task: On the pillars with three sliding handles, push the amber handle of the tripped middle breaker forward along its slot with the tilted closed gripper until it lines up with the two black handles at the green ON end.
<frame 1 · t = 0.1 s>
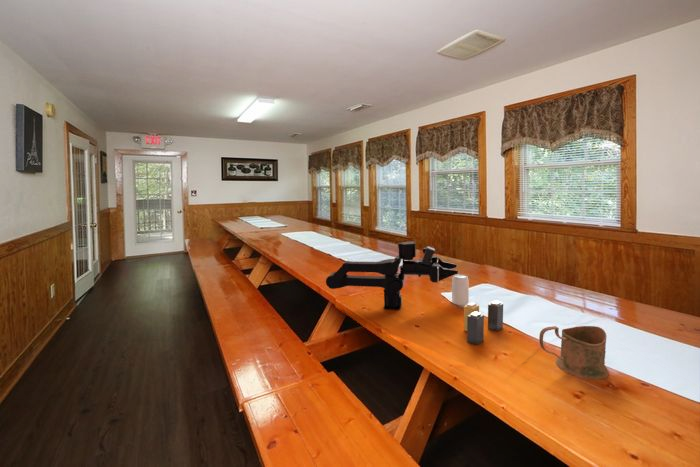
hand: (457, 268, 130), 17 cm above the table, tool horizontal, fingers open, 9 cm apart
tripped handle: (471, 316, 112), point 6 cm above the table, slide at 0.0 cm
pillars: (471, 332, 113), on the table
mug: (570, 368, 90), on the table
can: (460, 304, 138), on the table
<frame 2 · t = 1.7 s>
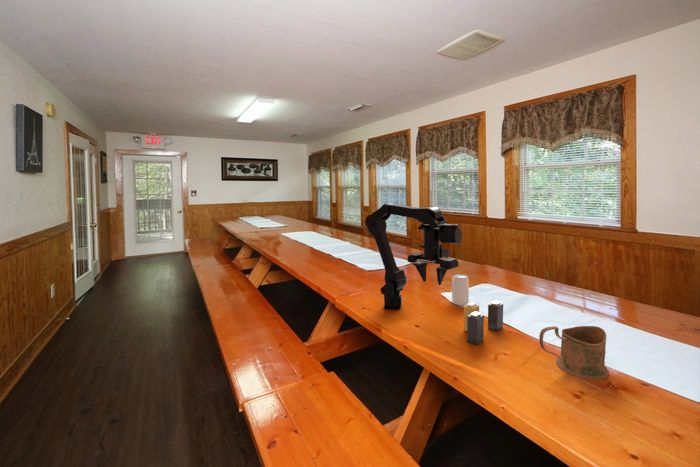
hand: (432, 283, 126), 13 cm above the table, tool pointing down, fingers open, 6 cm apart
nothing on the table moved.
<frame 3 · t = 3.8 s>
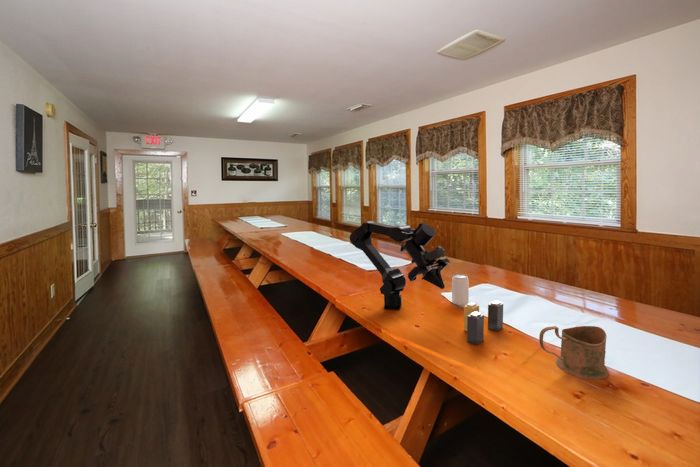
hand: (443, 288, 119), 13 cm above the table, tool tilted 45°, fingers closed
nothing on the table moved.
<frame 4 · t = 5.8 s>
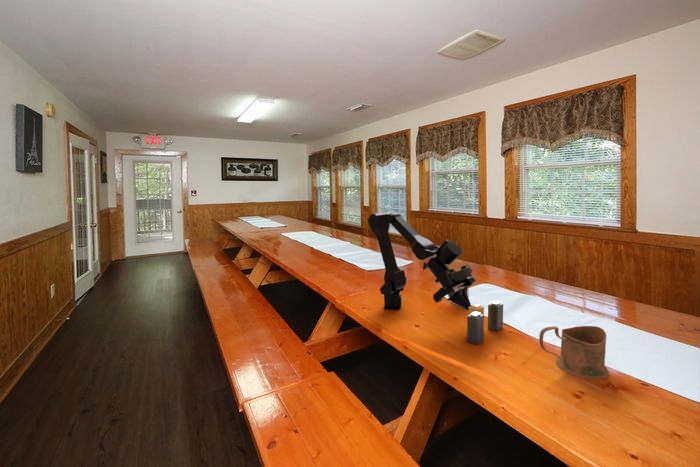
hand: (470, 310, 112), 8 cm above the table, tool tilted 45°, fingers closed, pressing on tripped handle
tripped handle: (476, 318, 111), point 6 cm above the table, slide at 1.6 cm, touching gripper
everything else where it was.
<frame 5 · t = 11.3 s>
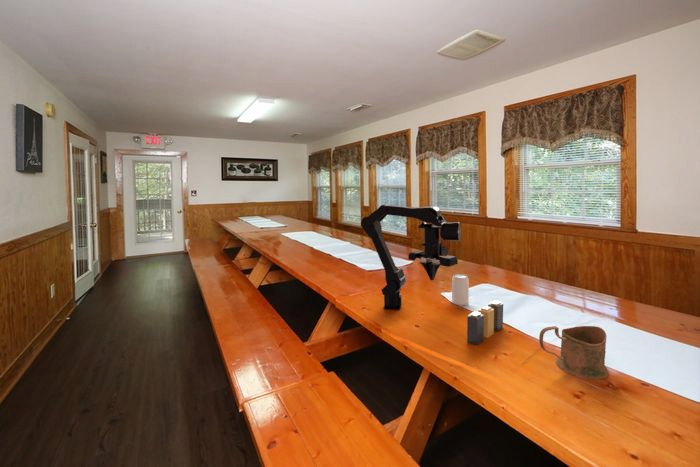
hand: (432, 280, 130), 13 cm above the table, tool pointing down, fingers closed
tripped handle: (485, 321, 108), point 6 cm above the table, slide at 5.0 cm
everything else where it was.
at the end: tripped handle slide at 5.0 cm; the gripper is holding nothing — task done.
